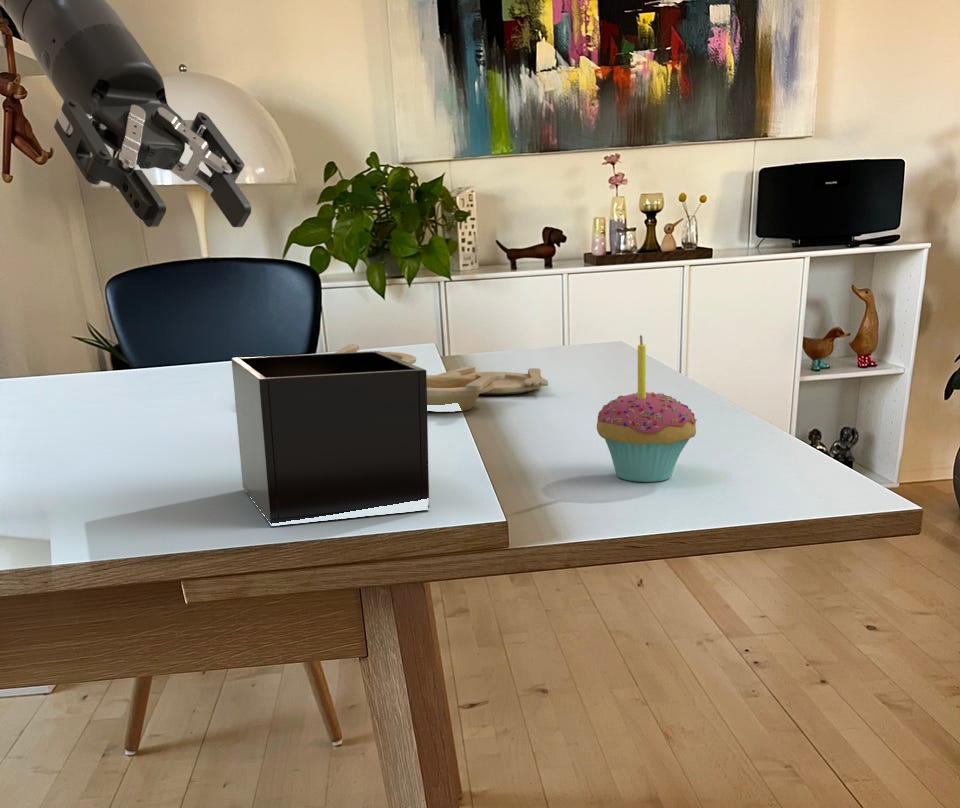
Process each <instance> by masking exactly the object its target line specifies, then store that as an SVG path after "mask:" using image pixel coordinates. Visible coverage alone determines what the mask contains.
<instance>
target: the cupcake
mask: <svg viewBox="0 0 960 808" xmlns="http://www.w3.org/2000/svg"><path fill="white" fill-rule="evenodd" d="M643 338H644V337H643V335H642V334H640V335H639V344H637V392H635V393H630V394H626V395H619V396H617V397H616V398H615V399H612V400H610V401H608V402H607V403H606V404H604V405H602V408H601V410H599V412H598V415H597V417H596V419H597V422H596V431H597V433H598V435H599V436H600V437H601V438H602V439H604V441H605V443H606V446H607V448H608V450H609V451H608V452H609V453H610V457H611V461H612V464H613V468H614V473H615V475H616V477H617V478H619V479H621V480H625V481H629V482H638V483H658V482H663V481H667V480H669V479H671V477H672V475H673V472H674V470H675V466H676V464H677V461H678V459H679V457H680V455H681V453H682V451H683V450H684V448H685V447H686V445H687V443H688V442H689V441H690V439H692V438H694V437H695V436H696V435H697V427H696V423H697V421H698V420H697V419H696V417H695V413H694V412H692V409H691V408H689V406H688V405H687V404H684V403H681V401H680V400H677V399H676V398H674V397H673V396H672V395H666V394H665V393H660V392H658V393H655V392H654V391H652V392H647V391H646V390H647V389H646V387H647V386H646V380H647V379H646V376H647V375H646V371H647V368H646V366H647V364H646V363H647V358H646V357H647V356H646V354H647V352H646V351H647V348H646V344H645V343H643V341H644V340H643Z"/></svg>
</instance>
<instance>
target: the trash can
mask: <svg viewBox="0 0 960 808" xmlns="http://www.w3.org/2000/svg"><path fill="white" fill-rule="evenodd" d="M383 352H384V351H381V350H371V351H369V350H368V351H357V352H346V353H335V352H328V353H327V352H326V353H308V354H306V353H305V354H285V355H267V356H247V357H232V358H231V359H230V360H231V370H232V380H233V392H234V402H235V403H234V404H235V414H236V415H235V416H236V424H237V436H238V448H239V458H240V459H239V460H240V470H241V471H240V472H241V480H242V481H241V482H242V489H243V488H244V489H245V490H246V491H247V493H248V494H249V496H250V497H251V498H252V500H253V501H254V502H255V504H256V505H257V506H258V508H259V509H260V510H261V512H262V513H263V514H264V515H265V517H266V518H267V519H268V521H269V522H270V523H271V524H272V523H279V522H286V521H291V520H300V519H305V518H314V517H319V516H326V515H333V514H339V513H344V512H350V511H356V510H362V509H368V508H374V507H379V506H387V505H393V504H399V503H404V502H410V501H418V500H421V499H427V498H429V499H430V480H429V479H430V478H429V475H430V474H429V471H430V470H429V432H428V431H429V428H428V427H429V425H428V412H427V375H428V374H427V370H426V369H424V368H422V367H420V366H417V365H415V364H410V363H407V362H405V361H403V360H400V359H398V358H395V357H393V356H390V355H388V354H385V353H383ZM244 489H243V490H244ZM247 493H246V494H247ZM249 496H248V497H249ZM250 497H249V498H250ZM252 500H251V501H252ZM255 504H254V505H255ZM258 508H257V509H258ZM261 512H260V513H261Z"/></svg>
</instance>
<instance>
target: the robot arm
mask: <svg viewBox="0 0 960 808" xmlns="http://www.w3.org/2000/svg"><path fill="white" fill-rule="evenodd" d="M111 5H112V4H110V3H109V2H108V1H107V0H0V6H1V7H2V8H3V10H4V11H5V12H6V13H7V15H8V16H9V17H10V19H11V20H12V22H13V23H14V25H15V26H16V28H17V29H18V31H19V32H20V33H21V35H22V37H23V38H24V39H25V40H26V43H27V44H28V46H29V47H30V50H31V52H32V53H33V56H34V58H35V60H36V61H37V63H38V65H39V67H40V68H41V70H42V71H43V73H44V74H45V76H46V77H47V79H48V80H49V82H50V83H51V84H52V86H53V87H54V89H55V91H56V92H57V94H58V95H59V96H60V98H61V100H62V101H63V102H62V105H61V108H60V110H59V113H58V115H57V117H56V120H55V122H54V125H53V128H54V130H55V132H56V133H57V135H58V137H59V138H60V140H61V142H62V143H63V145H64V146H65V148H66V150H67V152H68V153H69V155H70V156H71V158H72V160H73V161H74V163H75V164H76V166H77V168H78V169H79V171H80V172H81V175H82V176H83V178H84V179H85V180H86V181H87V182H88V183H89V184H92V185H95V186H96V185H100V184H101V182H104V183H108V185H109V186H110V188H111V189H113V191H116V192H118V193H120V194H121V196H122V197H123V198H124V200H125V202H126V203H127V204H128V206H129V207H130V209H131V210H132V211H133V213H134V214H135V216H136V217H137V218H138V219H140V220H141V221H142V222H143V224H144V225H145V226H146V227H147V228H158V227H159V226H160V224H161V223H162V221H163V218H164V216H165V215H166V212H167V206H166V203H165V202H164V200H163V198H162V197H161V196H160V194H159V192H158V191H157V190H156V189H155V187H154V185H152V182H151V181H150V180H149V178H148V177H147V175H146V174H145V172H144V171H143V170H150V169H154V168H157V169H159V170H164V171H170V172H171V173H172V174H174V175H176V176H177V177H178V178H180V179H181V180H183V181H184V182H190V181H191V182H192V181H193V182H195V183H196V184H197V185H199V186H200V187H202V188H203V189H205V190H207V191H208V192H209V193H210V197H211V198H212V200H213V201H214V202H215V204H216V205H217V207H218V208H219V210H220V211H221V212H222V214H223V216H224V217H225V219H226V220H227V221H228V223H229V224H230V226H231V227H232V228H243V227H244V226H245V224H246V223H247V221H248V219H249V217H250V216H251V214H252V205H251V203H250V202H249V199H248V198H247V197H246V196H245V194H244V193H243V191H242V190H241V188H240V186H238V184H237V183H236V181H237V179H238V177H239V176H240V174H241V172H242V171H243V169H244V167H245V163H244V161H243V160H242V158H241V157H240V156H239V155H238V153H237V152H236V151H235V149H234V148H233V147H232V146H231V144H230V143H229V141H228V140H227V139H226V137H225V136H224V135H223V134H222V132H221V131H220V129H219V128H218V127H217V126H216V124H215V123H214V122H213V120H212V119H211V118H210V116H209V115H207V114H206V113H204V112H202V111H198V112H197V114H196V115H195V117H194V119H193V120H192V119H183V118H182V117H181V115H180V114H179V113H177V112H176V111H175V110H174V109H172V107H171V106H170V105H169V104H168V100H167V95H166V88H165V84H164V83H165V82H164V79H163V78H162V75H161V74H160V72H159V71H158V70H157V68H156V66H155V65H154V64H153V62H152V60H150V57H148V55H147V54H146V52H145V51H144V49H143V48H142V46H141V45H140V43H139V42H138V41H137V39H136V38H135V37H134V35H133V34H132V32H131V30H130V29H129V28H128V27H127V25H126V23H125V22H124V21H123V19H122V18H121V16H120V15H119V13H118V12H117V11H116V10H115V9H114V8H113V6H111ZM186 145H187V146H189V147H188V148H189V150H190V151H192V155H191V156H190V159H189V160H188V163H183V162H182V161H181V159H182V157H183V156H184V153H185V151H186V150H185V149H186ZM108 148H110V149H111V150H110V151H109V149H108ZM223 159H224V160H223ZM201 163H203V164H204V166H205V167H206V168H207V169H208V171H209V172H210V173H211V175H210V176H209V175H208V174H207V173H206V172H204V171H202V170H201V168H200V164H201ZM137 166H138V167H139V169H136V167H137Z"/></svg>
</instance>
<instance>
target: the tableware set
mask: <svg viewBox="0 0 960 808" xmlns="http://www.w3.org/2000/svg"><path fill="white" fill-rule="evenodd" d="M359 351H360V345H359V344H355V343H354V344H351V343H350V344H346V345H345V346H344V347H342V348H341V349H338V350H337V351H335V352H334V353H346V352H359ZM382 352H383V353H385V354H388V355H390V356H393V357H395V358H398V359H400V360H403V361H405V362H407V363H410V364H412V365H414V364H415V363H416V361H417V357H416V356H414V355H412V354H409V353H404V352H395V351H382ZM541 372H542V370H541V368H537V367H531V368H527V373H523V372H515V371H514V372H513V371H476V366H474V365H473V366H471V365H469V366H463V367H459V368H456V369H452V370H449V371H445V372H442V373H439V374H429V375H428V374H427V405H445V404H452V403H458V404H459V406H460V408H461V410H462V412H461V413H463V412H466V411H469V410H472V408H473V407H474V405H475V403H476V401H477V400H478V398H479V395H485V396H486V395H487V396H488V395H496V396H497V395H498V396H499V395H518V394H525V393H528V392H529V393H530V392H531V391H534V390H538V389H541V388H543V387H548V385H549V381H548V379H547V378H544V377H542V375H541V374H542V373H541Z"/></svg>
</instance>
